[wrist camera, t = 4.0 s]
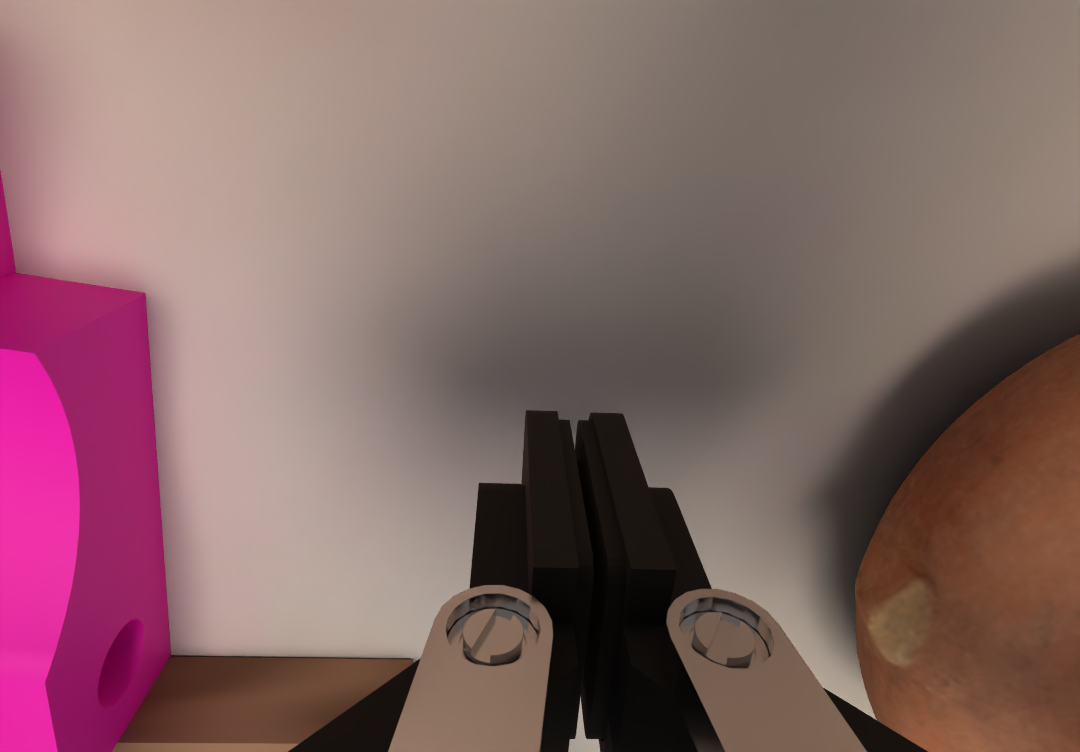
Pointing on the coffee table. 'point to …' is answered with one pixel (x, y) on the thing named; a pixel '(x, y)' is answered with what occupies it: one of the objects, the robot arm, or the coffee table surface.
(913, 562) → the ceramic jug
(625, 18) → the coffee table surface
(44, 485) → the toy block
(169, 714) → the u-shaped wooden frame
